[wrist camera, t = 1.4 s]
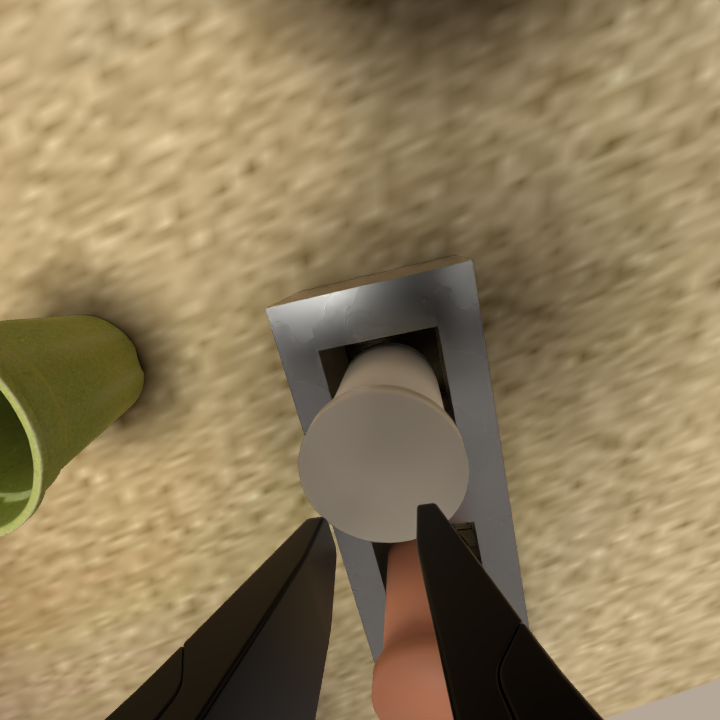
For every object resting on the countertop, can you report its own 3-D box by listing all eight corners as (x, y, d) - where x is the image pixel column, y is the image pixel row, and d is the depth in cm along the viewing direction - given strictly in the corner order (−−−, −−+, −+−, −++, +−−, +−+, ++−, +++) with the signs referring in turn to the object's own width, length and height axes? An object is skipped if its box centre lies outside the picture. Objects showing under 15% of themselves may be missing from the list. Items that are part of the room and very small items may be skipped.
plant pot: (201, 348, 21) (73, 416, 13) (137, 464, 24) (1, 579, 16) (52, 250, 21) (-182, 258, 12) (5, 382, 24) (-210, 458, 15)
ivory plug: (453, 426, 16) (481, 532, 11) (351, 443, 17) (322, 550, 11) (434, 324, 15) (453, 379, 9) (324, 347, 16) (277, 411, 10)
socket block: (522, 661, 26) (548, 757, 21) (404, 667, 27) (404, 758, 22) (454, 254, 18) (472, 260, 14) (298, 291, 20) (265, 308, 15)
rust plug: (484, 588, 19) (520, 749, 13) (392, 596, 20) (387, 751, 14) (469, 511, 18) (502, 650, 12) (372, 523, 18) (357, 658, 12)
